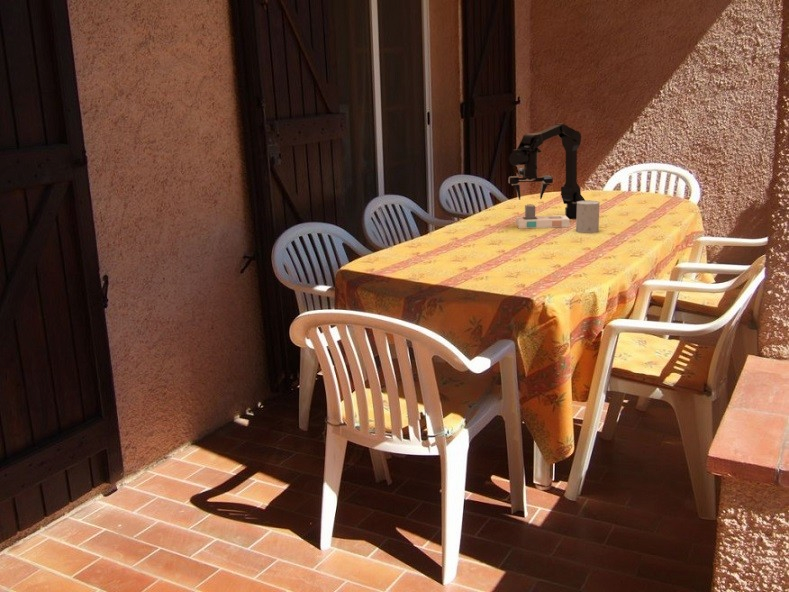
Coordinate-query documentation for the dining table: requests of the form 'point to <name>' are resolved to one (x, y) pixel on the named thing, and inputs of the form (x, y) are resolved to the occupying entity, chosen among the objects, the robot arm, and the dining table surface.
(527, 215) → the plug
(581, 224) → the stone cylinder
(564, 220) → the socket strip
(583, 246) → the dining table surface
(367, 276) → the dining table surface
